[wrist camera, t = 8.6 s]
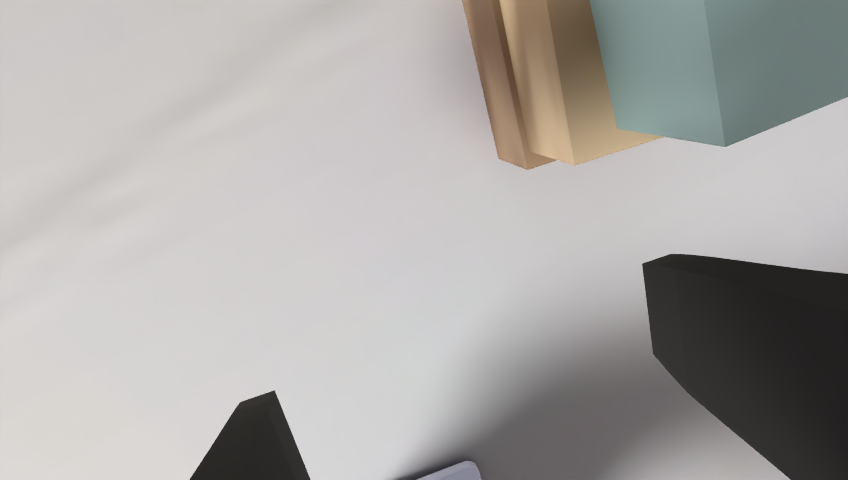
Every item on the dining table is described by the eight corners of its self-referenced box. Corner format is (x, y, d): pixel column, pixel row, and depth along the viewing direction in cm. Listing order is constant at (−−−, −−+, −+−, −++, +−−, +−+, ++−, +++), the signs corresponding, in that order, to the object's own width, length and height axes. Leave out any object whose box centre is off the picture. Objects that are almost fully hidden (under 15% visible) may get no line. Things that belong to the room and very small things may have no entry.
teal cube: (746, 77, 16) (891, 79, 12) (616, 128, 15) (725, 147, 11) (725, -81, 14) (882, -135, 11) (582, -30, 14) (693, -67, 10)
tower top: (696, 99, 19) (768, 103, 16) (529, 151, 18) (574, 165, 15) (676, -103, 17) (754, -139, 14) (488, -55, 16) (531, -83, 13)
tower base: (663, 102, 22) (719, 106, 19) (494, 156, 21) (527, 169, 18) (637, -100, 20) (696, -129, 17) (447, -48, 19) (476, -70, 16)
